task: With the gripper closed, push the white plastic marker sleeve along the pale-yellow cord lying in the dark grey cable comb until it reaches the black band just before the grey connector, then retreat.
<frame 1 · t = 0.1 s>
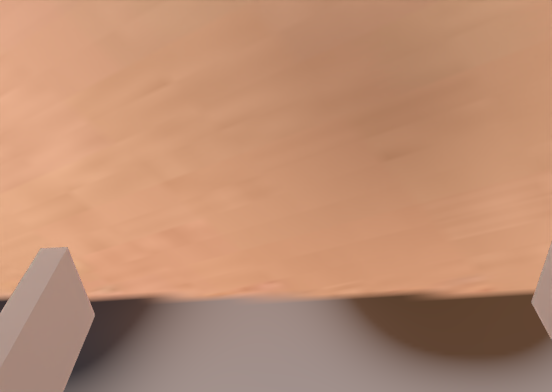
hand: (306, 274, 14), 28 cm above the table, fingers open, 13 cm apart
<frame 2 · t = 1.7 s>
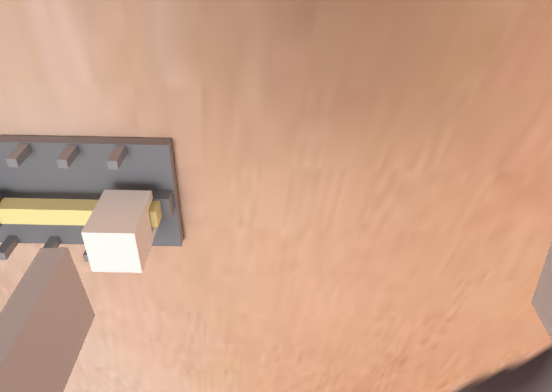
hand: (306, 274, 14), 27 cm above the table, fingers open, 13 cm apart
cable comb: (68, 189, 45), on the table
sleeve: (122, 229, 40), point 6 cm above the table, slide at 0.0 cm
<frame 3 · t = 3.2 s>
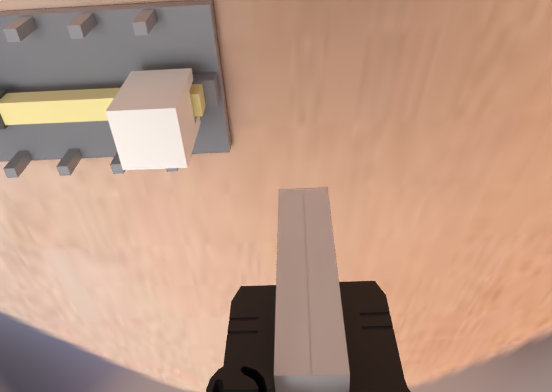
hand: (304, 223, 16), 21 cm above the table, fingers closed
cable comb: (87, 84, 36), on the table
sleeve: (158, 117, 31), point 6 cm above the table, slide at 0.0 cm
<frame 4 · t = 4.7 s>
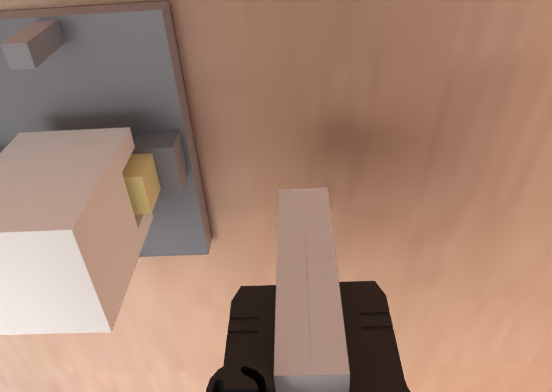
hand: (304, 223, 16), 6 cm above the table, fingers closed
sleeve: (61, 224, 16), point 6 cm above the table, slide at 0.0 cm
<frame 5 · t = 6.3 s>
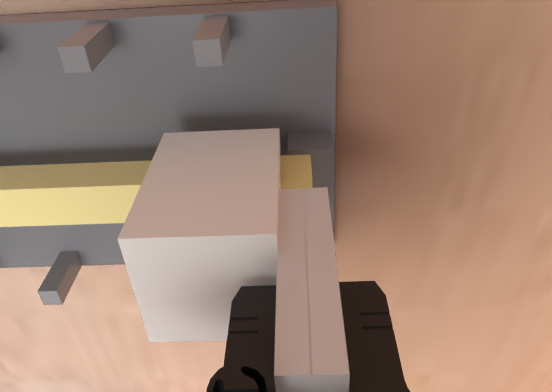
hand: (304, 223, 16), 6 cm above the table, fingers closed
cable comb: (93, 147, 21), on the table
sleeve: (218, 227, 16), point 6 cm above the table, slide at 0.6 cm, touching gripper
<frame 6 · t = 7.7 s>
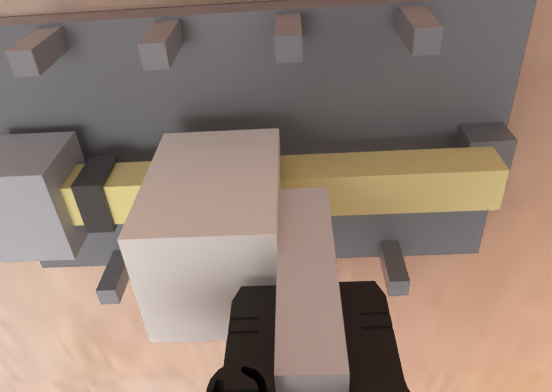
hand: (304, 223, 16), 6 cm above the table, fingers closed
cable comb: (245, 142, 20), on the table
sleeve: (219, 228, 16), point 6 cm above the table, slide at 7.0 cm, touching gripper
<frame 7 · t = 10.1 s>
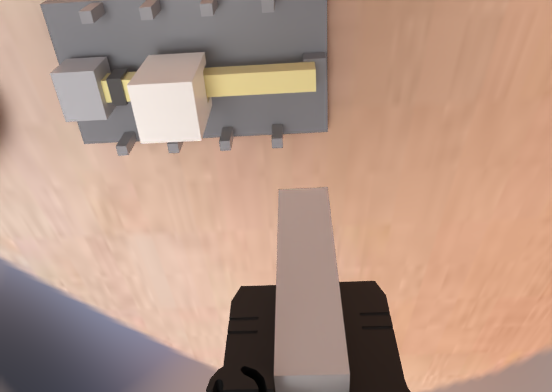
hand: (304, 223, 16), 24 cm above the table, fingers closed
cable comb: (196, 67, 38), on the table
sleeve: (173, 96, 33), point 6 cm above the table, slide at 7.2 cm
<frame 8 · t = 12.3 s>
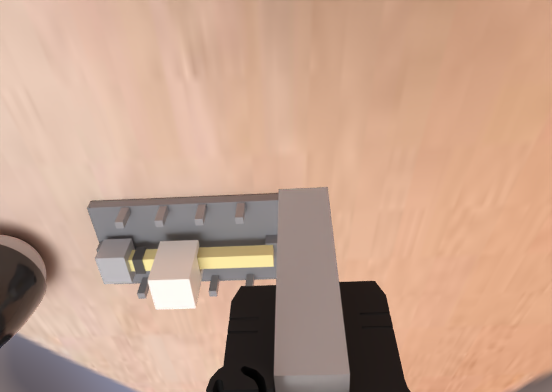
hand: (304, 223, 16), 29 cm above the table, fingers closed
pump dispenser: (13, 253, 57), on the table
cable comb: (193, 237, 54), on the table
sleeve: (177, 273, 50), point 6 cm above the table, slide at 7.2 cm
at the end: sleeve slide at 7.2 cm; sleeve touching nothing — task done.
